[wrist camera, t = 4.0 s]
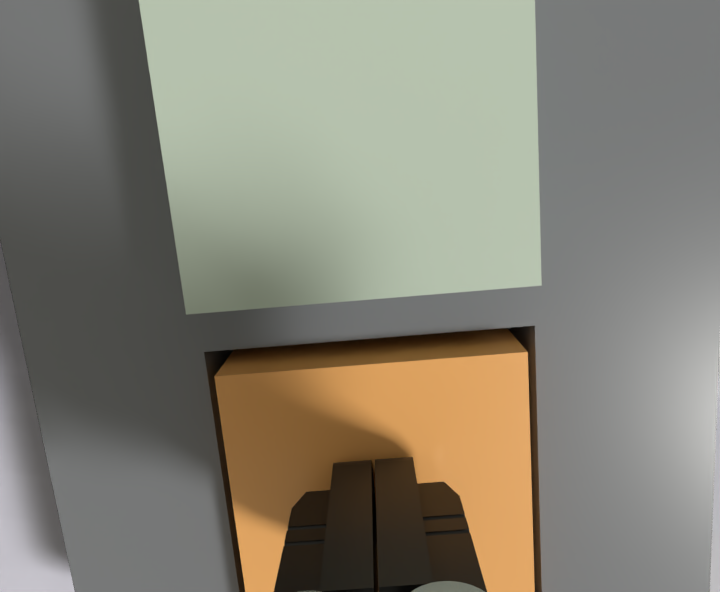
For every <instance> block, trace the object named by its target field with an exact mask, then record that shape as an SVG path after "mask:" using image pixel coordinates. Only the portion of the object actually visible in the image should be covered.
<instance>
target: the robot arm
mask: <svg viewBox="0 0 720 592" xmlns="http://www.w3.org/2000/svg"><path fill="white" fill-rule="evenodd" d="M375 486H376V502H375V490H374V479H373V468H372V460H363V461H350V462H337V463H333V468H332V477H331V487H330V490H323V491H309V492H306V493H305V494H304V495H303V496H302V497H301V498H300V499H299V501H298V502H297V503H296V504H295V505H294V506H293V507H292V509H291V514H290V518H289V523H288V530H287V532H286V537H285V542H284V546H283V551H282V555H281V560H280V565H279V569H278V574H277V579H276V583H275V588H274V592H487V590H486V586H485V583H484V579H483V576H482V572H481V569H480V565H479V562H478V558H477V555H476V551H475V548H474V544H473V541H472V537H471V534H470V532H469V527H468V523H467V520H466V518H465V513H464V509H463V506H462V502H461V499H460V496H459V495H458V494H457V493H456V492H455V491H454V490H453V489H452V488H450V487H449V486H448V485H447V484H446V483H445V482H444V481H443V482H430V483H417V479H416V473H415V467H414V461H413V457H402V458H388V459H375Z"/></svg>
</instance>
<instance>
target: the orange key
mask: <svg viewBox="0 0 720 592" xmlns="http://www.w3.org/2000/svg"><path fill="white" fill-rule="evenodd" d="M214 378H215V385H216V392H217V398H218V405H219V412H220V419H221V426H222V433H223V440H224V447H225V454H226V461H227V468H228V475H229V482H230V489H231V496H232V502H233V509H234V516H235V523H236V530H237V537H238V544H239V551H240V558H241V565H242V572H243V579H244V586H245V592H274V588H275V583H276V579H277V574H278V569H279V565H280V560H281V555H282V551H283V546H284V542H285V537H286V532H287V530H288V523H289V518H290V514H291V509H292V507H293V506H294V505H295V504H296V503H297V502H298V501H299V499H300V498H301V497H302V496H303V495H304V494H305V493H306V492H309V491H323V490H330V487H331V477H332V468H333V463H337V462H350V461H363V460H372V468H373V479H374V490H375V502H376V486H375V459H388V458H402V457H413V461H414V467H415V473H416V479H417V483H430V482H443V481H444V482H445V483H446V484H447V485H448V486H449V487H450V488H452V489H453V490H454V491H455V492H456V493H457V494H458V495H459V496H460V499H461V502H462V506H463V509H464V513H465V518H466V520H467V523H468V527H469V532H470V534H471V537H472V541H473V544H474V548H475V551H476V555H477V558H478V562H479V565H480V569H481V572H482V576H483V579H484V583H485V586H486V590H487V592H535V584H534V550H533V515H532V481H531V447H530V412H529V378H528V352H527V351H526V349H525V348H524V347H523V346H522V345H521V344H520V342H519V341H518V340H517V339H516V338H515V337H514V336H513V334H512V333H511V332H510V331H509V330H508V329H507V328H498V329H486V330H473V331H461V332H448V333H436V334H423V335H410V336H398V337H385V338H373V339H360V340H348V341H335V342H322V343H310V344H297V345H285V346H272V347H260V348H247V349H235V350H233V352H232V353H231V354H230V356H229V357H228V358H227V360H226V361H225V363H224V364H223V365H222V367H221V368H220V369H219V371H218V372H217V374H216V375H215V376H214Z"/></svg>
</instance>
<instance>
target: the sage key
mask: <svg viewBox="0 0 720 592" xmlns="http://www.w3.org/2000/svg"><path fill="white" fill-rule="evenodd" d="M139 6H140V13H141V19H142V26H143V32H144V39H145V46H146V52H147V59H148V66H149V72H150V79H151V85H152V92H153V99H154V105H155V112H156V119H157V125H158V132H159V138H160V145H161V152H162V158H163V165H164V171H165V178H166V185H167V191H168V198H169V205H170V211H171V218H172V224H173V231H174V238H175V244H176V251H177V257H178V264H179V271H180V277H181V284H182V291H183V297H184V304H185V310H186V315H187V314H199V313H211V312H224V311H236V310H248V309H260V308H273V307H285V306H297V305H309V304H322V303H334V302H346V301H359V300H371V299H383V298H395V297H408V296H420V295H432V294H444V293H457V292H469V291H481V290H493V289H506V288H518V287H530V286H542V279H541V237H540V194H539V151H538V109H537V66H536V23H535V0H139Z"/></svg>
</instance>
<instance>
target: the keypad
mask: <svg viewBox="0 0 720 592" xmlns="http://www.w3.org/2000/svg"><path fill="white" fill-rule="evenodd" d="M535 23H536V66H537V109H538V151H539V194H540V237H541V279H542V286H530V287H518V288H506V289H493V290H481V291H469V292H457V293H444V294H432V295H420V296H408V297H395V298H383V299H371V300H359V301H346V302H334V303H322V304H309V305H297V306H285V307H273V308H260V309H248V310H236V311H224V312H211V313H199V314H187V315H186V310H185V304H184V297H183V291H182V284H181V277H180V271H179V264H178V257H177V251H176V244H175V238H174V231H173V224H172V218H171V211H170V205H169V198H168V191H167V185H166V178H165V171H164V165H163V158H162V152H161V145H160V138H159V132H158V125H157V119H156V112H155V105H154V99H153V92H152V85H151V79H150V72H149V66H148V59H147V52H146V46H145V39H144V32H143V26H142V19H141V13H140V6H139V0H0V241H1V245H2V250H3V255H4V260H5V264H6V269H7V274H8V278H9V283H10V288H11V293H12V297H13V302H14V307H15V311H16V316H17V321H18V326H19V330H20V335H21V340H22V344H23V349H24V354H25V359H26V363H27V368H28V373H29V378H30V382H31V387H32V392H33V396H34V401H35V406H36V411H37V415H38V420H39V425H40V429H41V434H42V439H43V444H44V448H45V453H46V458H47V462H48V467H49V472H50V477H51V481H52V486H53V491H54V495H55V500H56V505H57V510H58V514H59V519H60V524H61V528H62V533H63V538H64V543H65V547H66V552H67V557H68V561H69V566H70V571H71V576H72V580H73V585H74V590H75V592H245V586H244V579H243V572H242V565H241V558H240V551H239V544H238V537H237V530H236V523H235V516H234V509H233V502H232V496H231V489H230V482H229V475H228V468H227V461H226V454H225V447H224V440H223V433H222V426H221V419H220V412H219V405H218V398H217V392H216V385H215V378H214V376H215V375H216V374H217V372H218V371H219V369H220V368H221V367H222V365H223V364H224V363H225V361H226V360H227V358H228V357H229V356H230V354H231V353H232V352H233V350H235V349H247V348H260V347H272V346H285V345H297V344H310V343H322V342H335V341H348V340H360V339H373V338H385V337H398V336H410V335H423V334H436V333H448V332H461V331H473V330H486V329H498V328H507V329H508V330H509V331H510V332H511V333H512V334H513V336H514V337H515V338H516V339H517V340H518V341H519V342H520V344H521V345H522V346H523V347H524V348H525V349H526V351H527V352H528V378H529V412H530V447H531V481H532V515H533V550H534V584H535V592H710V569H711V544H712V520H713V495H714V470H715V446H716V421H717V396H718V372H719V347H720V0H535Z"/></svg>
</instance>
